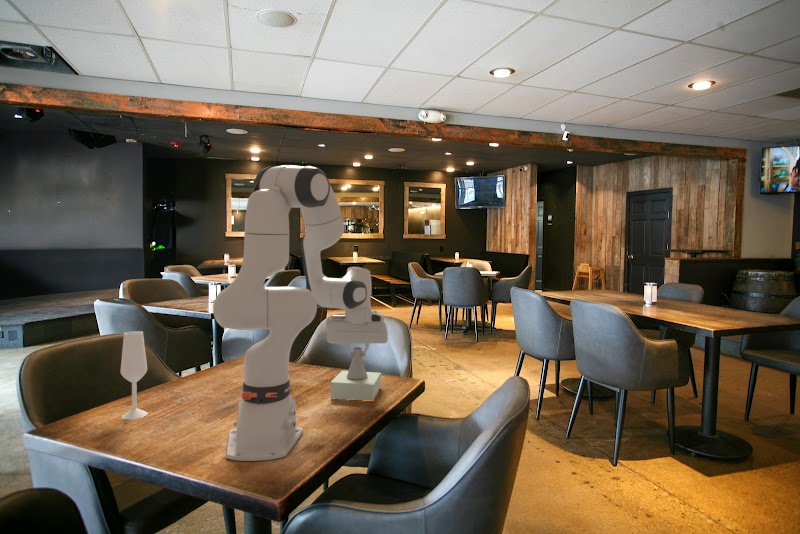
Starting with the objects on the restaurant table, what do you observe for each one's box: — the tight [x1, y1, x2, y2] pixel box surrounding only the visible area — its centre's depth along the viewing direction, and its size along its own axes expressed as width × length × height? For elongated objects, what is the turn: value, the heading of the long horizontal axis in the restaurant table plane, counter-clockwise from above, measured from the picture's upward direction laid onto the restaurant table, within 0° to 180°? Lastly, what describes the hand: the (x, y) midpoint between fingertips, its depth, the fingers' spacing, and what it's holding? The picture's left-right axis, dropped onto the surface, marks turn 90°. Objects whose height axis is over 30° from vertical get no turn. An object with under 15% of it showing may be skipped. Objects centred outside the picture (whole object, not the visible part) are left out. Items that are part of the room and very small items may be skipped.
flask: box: [347, 346, 367, 379], centre depth 157 cm, size 7×7×10 cm
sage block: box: [330, 370, 382, 400], centre depth 157 cm, size 14×14×6 cm
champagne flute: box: [119, 330, 149, 420], centre depth 134 cm, size 7×7×24 cm
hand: (357, 356), depth 157 cm, fingers open, 3 cm apart
